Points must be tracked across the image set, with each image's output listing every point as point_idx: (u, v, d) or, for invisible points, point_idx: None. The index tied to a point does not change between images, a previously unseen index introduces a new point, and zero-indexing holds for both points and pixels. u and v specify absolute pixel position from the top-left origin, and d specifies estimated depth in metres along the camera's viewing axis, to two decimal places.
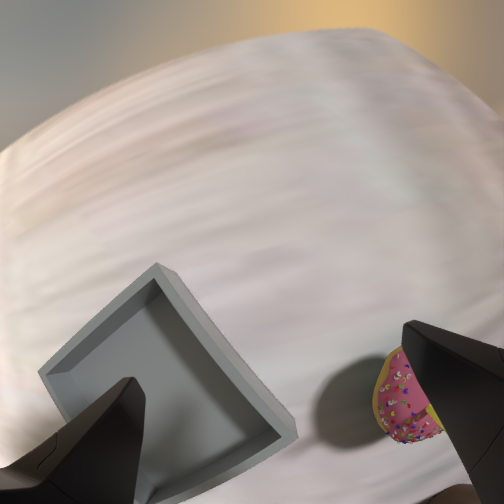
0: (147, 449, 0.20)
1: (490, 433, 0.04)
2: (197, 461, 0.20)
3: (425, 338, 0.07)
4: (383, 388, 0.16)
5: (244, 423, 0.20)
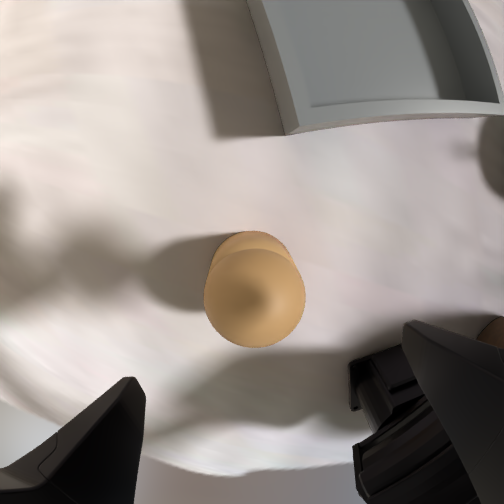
0: (320, 54, 0.14)
1: (491, 432, 0.04)
2: (381, 97, 0.15)
3: (425, 338, 0.07)
4: None
5: (442, 87, 0.15)
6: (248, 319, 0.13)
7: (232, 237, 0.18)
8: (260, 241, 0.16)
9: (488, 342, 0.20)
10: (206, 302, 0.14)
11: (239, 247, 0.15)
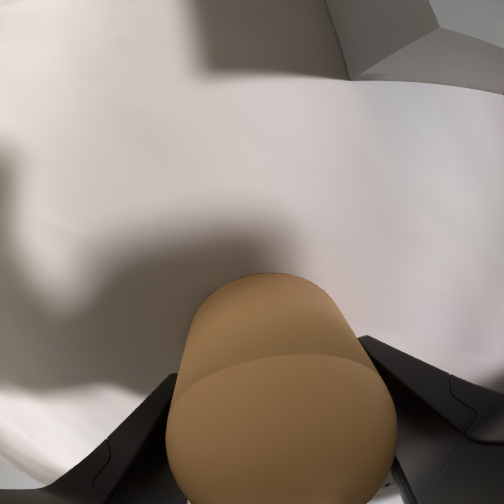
0: None
1: (436, 465, 0.04)
2: None
3: (371, 357, 0.07)
4: None
5: None
6: None
7: (232, 288, 0.08)
8: (302, 315, 0.06)
9: None
10: (171, 468, 0.04)
11: (253, 341, 0.06)
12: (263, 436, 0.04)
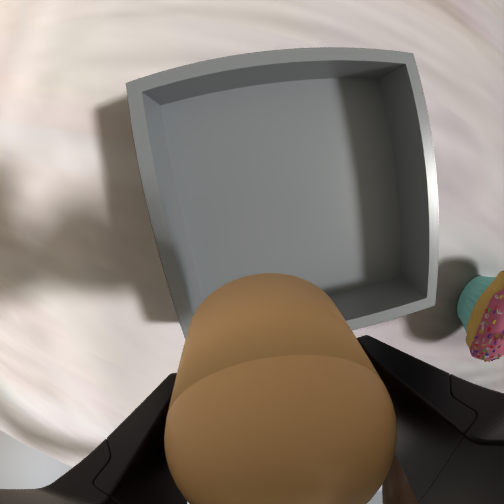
0: (232, 255, 0.18)
1: (436, 465, 0.04)
2: None
3: (371, 357, 0.07)
4: (497, 296, 0.16)
5: (371, 264, 0.19)
6: None
7: (231, 288, 0.08)
8: (301, 315, 0.06)
9: None
10: (170, 468, 0.04)
11: (251, 341, 0.05)
12: (261, 437, 0.04)
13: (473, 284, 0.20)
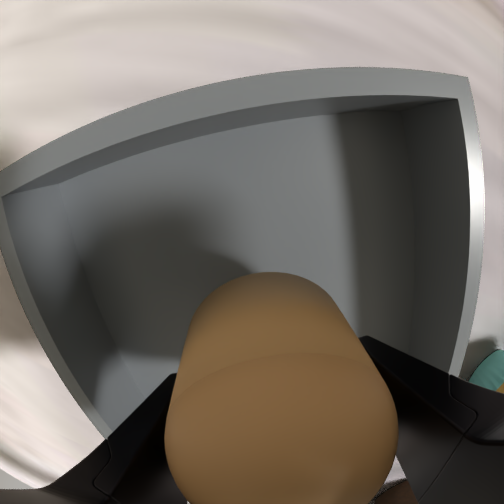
0: None
1: (436, 466, 0.04)
2: None
3: (371, 357, 0.07)
4: None
5: None
6: None
7: (231, 287, 0.08)
8: (301, 314, 0.06)
9: None
10: (170, 468, 0.04)
11: (252, 340, 0.05)
12: (262, 436, 0.04)
13: (489, 365, 0.14)
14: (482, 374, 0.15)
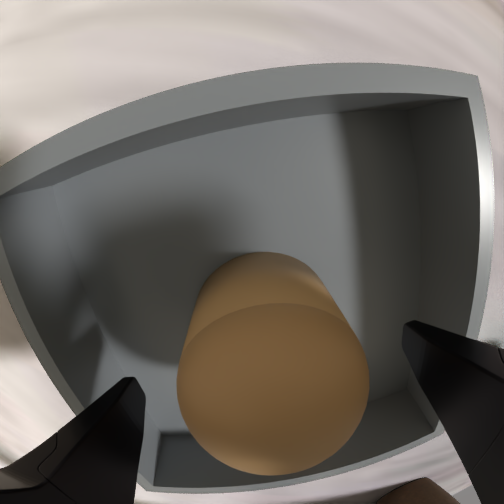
0: None
1: (490, 432, 0.04)
2: None
3: (425, 338, 0.07)
4: None
5: (369, 383, 0.13)
6: (266, 458, 0.05)
7: (232, 263, 0.10)
8: (288, 280, 0.08)
9: None
10: (180, 404, 0.06)
11: (248, 295, 0.07)
12: (254, 359, 0.06)
13: None
14: None
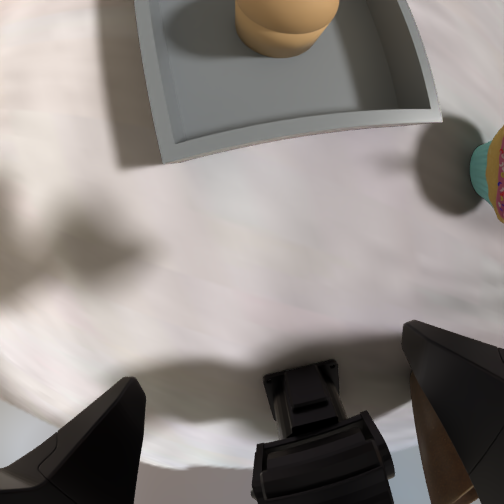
0: (215, 76, 0.15)
1: (491, 432, 0.04)
2: (281, 113, 0.16)
3: (425, 338, 0.07)
4: None
5: (364, 93, 0.16)
6: None
7: None
8: None
9: None
10: None
11: None
12: None
13: (481, 146, 0.17)
14: (478, 153, 0.17)
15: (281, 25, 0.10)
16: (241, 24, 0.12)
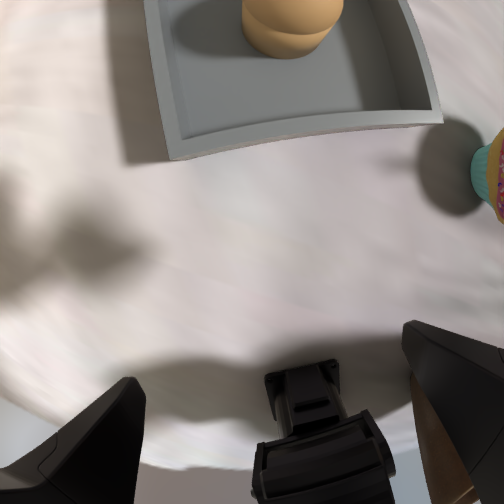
0: (221, 75, 0.15)
1: (490, 433, 0.04)
2: (286, 113, 0.16)
3: (425, 338, 0.07)
4: None
5: (367, 95, 0.16)
6: None
7: None
8: None
9: None
10: None
11: None
12: None
13: (482, 149, 0.17)
14: (478, 155, 0.17)
15: (287, 26, 0.11)
16: (248, 25, 0.12)
